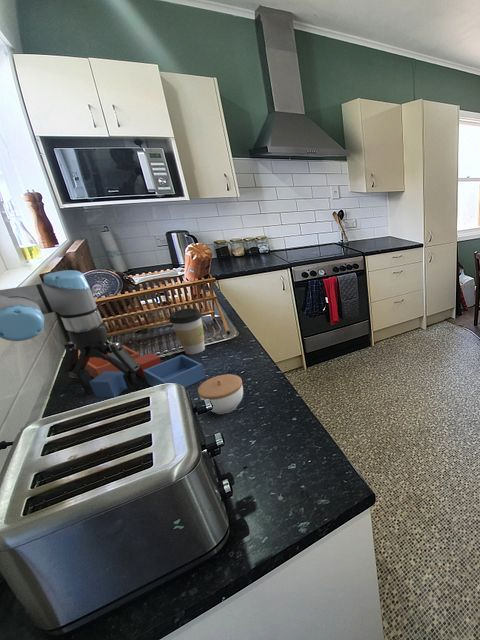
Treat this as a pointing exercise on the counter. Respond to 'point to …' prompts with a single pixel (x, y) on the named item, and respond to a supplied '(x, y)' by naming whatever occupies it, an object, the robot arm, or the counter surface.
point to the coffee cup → (189, 329)
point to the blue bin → (175, 372)
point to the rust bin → (105, 364)
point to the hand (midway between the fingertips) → (112, 391)
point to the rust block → (146, 363)
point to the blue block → (108, 384)
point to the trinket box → (222, 392)
